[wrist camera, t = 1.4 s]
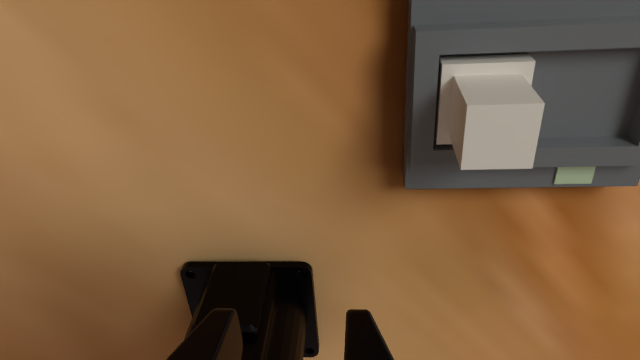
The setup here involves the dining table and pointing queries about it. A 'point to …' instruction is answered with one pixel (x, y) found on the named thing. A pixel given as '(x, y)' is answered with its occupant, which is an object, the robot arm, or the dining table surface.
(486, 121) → the tab
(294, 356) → the robot arm
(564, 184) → the switch bank
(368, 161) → the dining table surface
